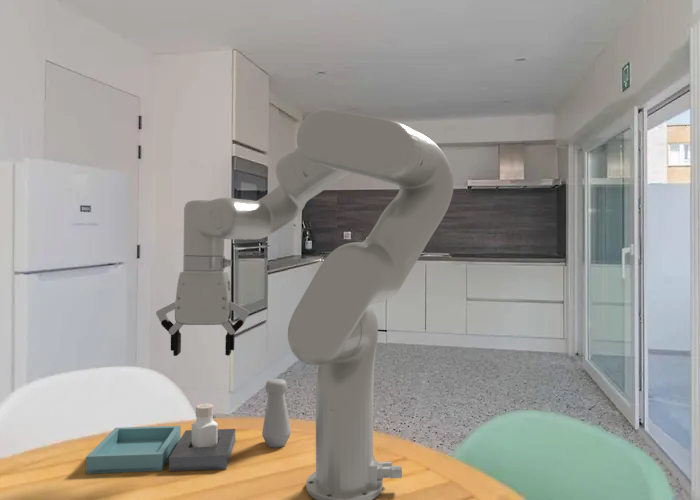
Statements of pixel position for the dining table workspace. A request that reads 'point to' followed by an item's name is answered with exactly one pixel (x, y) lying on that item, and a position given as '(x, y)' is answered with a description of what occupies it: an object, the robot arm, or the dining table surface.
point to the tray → (134, 450)
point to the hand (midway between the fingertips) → (202, 354)
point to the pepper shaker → (204, 427)
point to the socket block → (202, 453)
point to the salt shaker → (276, 415)
